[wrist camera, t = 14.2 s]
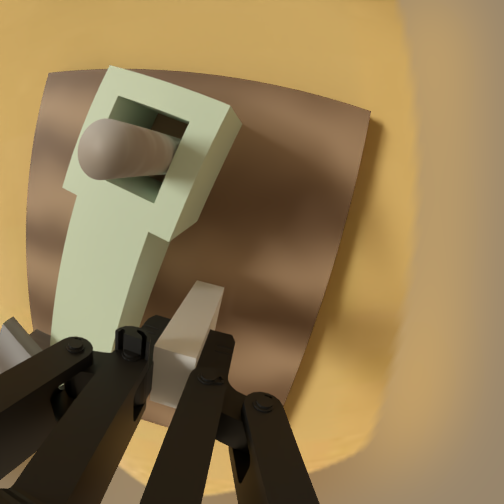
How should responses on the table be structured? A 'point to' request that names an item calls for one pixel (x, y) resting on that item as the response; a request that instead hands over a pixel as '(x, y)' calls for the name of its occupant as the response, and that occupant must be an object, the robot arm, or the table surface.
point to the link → (134, 207)
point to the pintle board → (208, 215)
